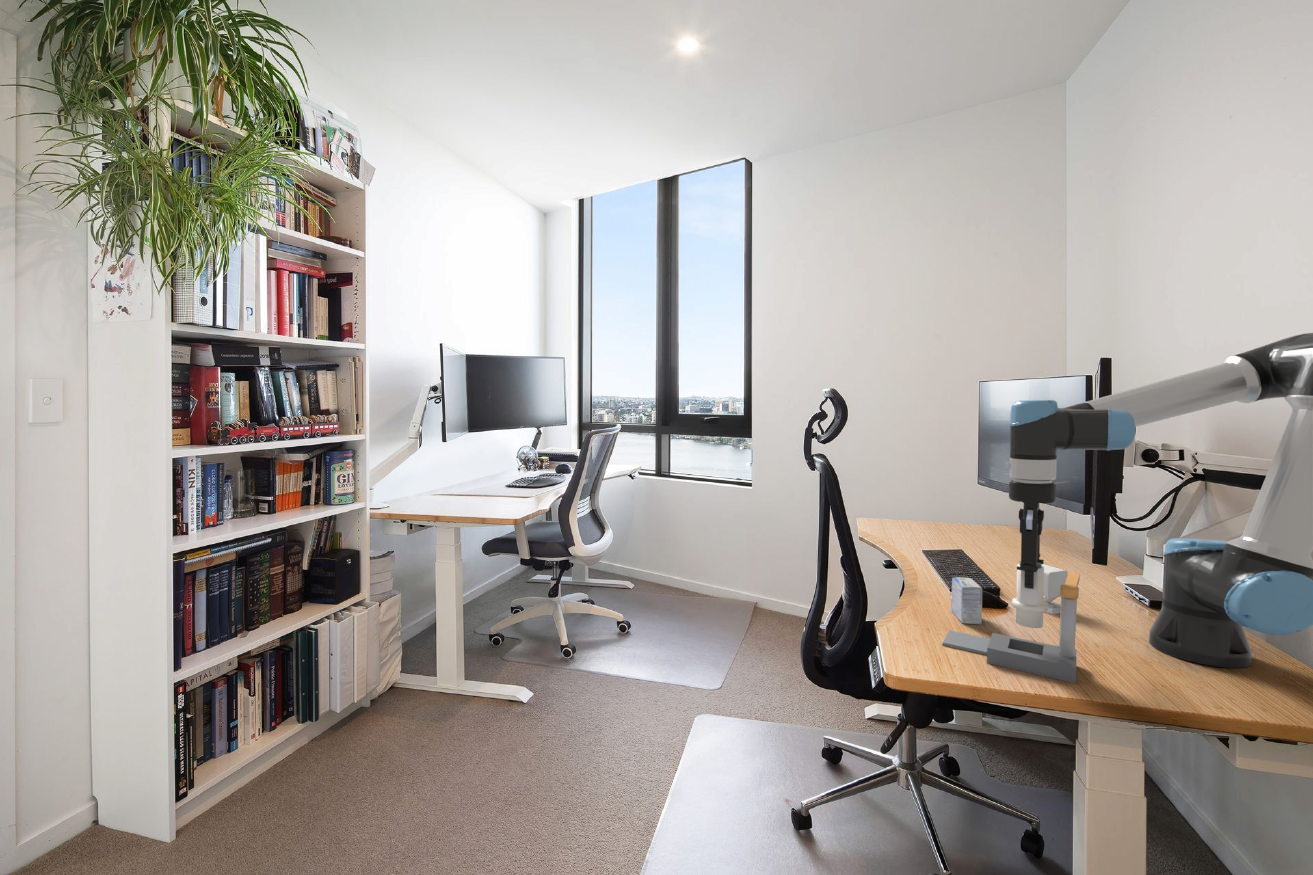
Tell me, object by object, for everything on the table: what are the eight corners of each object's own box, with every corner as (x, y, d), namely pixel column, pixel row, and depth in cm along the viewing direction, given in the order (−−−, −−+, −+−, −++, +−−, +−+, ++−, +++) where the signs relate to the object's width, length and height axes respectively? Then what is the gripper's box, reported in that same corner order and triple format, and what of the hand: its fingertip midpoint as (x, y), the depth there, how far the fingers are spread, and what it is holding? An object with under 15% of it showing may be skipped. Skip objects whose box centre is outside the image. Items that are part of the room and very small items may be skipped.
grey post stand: (1075, 665, 111) (1078, 593, 110) (1075, 683, 104) (1078, 607, 103) (992, 647, 120) (994, 580, 119) (986, 662, 112) (989, 592, 111)
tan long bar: (1077, 608, 106) (1078, 590, 106) (1059, 605, 108) (1059, 587, 108) (1082, 589, 117) (1082, 572, 117) (1065, 586, 119) (1066, 569, 119)
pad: (991, 641, 122) (991, 638, 122) (986, 654, 116) (986, 652, 116) (949, 632, 127) (949, 630, 127) (942, 645, 120) (942, 642, 120)
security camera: (1042, 602, 147) (1043, 563, 146) (1069, 611, 140) (1071, 571, 139) (1023, 605, 145) (1025, 565, 144) (1050, 614, 138) (1052, 573, 137)
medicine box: (982, 625, 131) (983, 587, 131) (960, 623, 132) (961, 586, 132) (970, 612, 139) (971, 577, 139) (950, 611, 140) (951, 576, 140)
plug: (1047, 622, 113) (1049, 561, 112) (1046, 631, 108) (1047, 568, 108) (1013, 616, 116) (1014, 557, 116) (1010, 625, 112) (1011, 564, 111)
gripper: (1013, 474, 120) (1011, 585, 121) (1004, 484, 106) (1002, 609, 107) (1057, 476, 115) (1054, 591, 117) (1054, 487, 101) (1051, 617, 103)
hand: (1029, 599), depth 112 cm, fingers closed on plug, 4 cm apart
